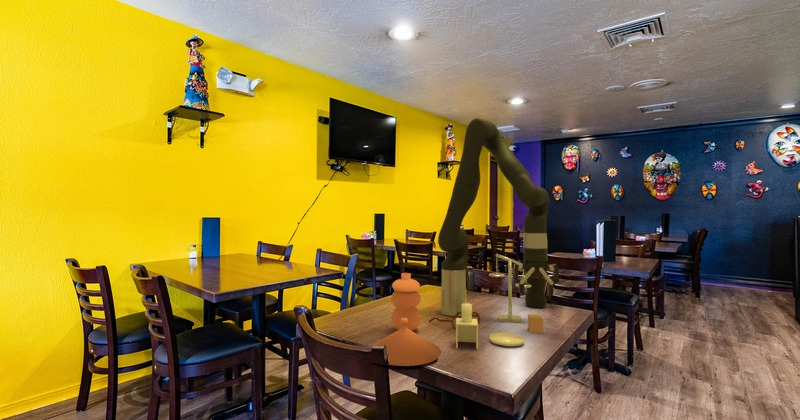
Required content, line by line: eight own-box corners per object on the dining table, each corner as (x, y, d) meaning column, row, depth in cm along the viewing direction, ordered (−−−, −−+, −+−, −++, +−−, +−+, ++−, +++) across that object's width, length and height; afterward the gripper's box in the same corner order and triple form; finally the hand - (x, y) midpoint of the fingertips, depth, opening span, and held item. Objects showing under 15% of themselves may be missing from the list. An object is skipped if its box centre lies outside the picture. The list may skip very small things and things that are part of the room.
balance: (489, 321, 137) (489, 254, 137) (488, 317, 142) (488, 252, 143) (532, 323, 135) (532, 255, 135) (529, 319, 140) (529, 253, 141)
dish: (491, 347, 110) (491, 342, 110) (488, 336, 120) (488, 331, 120) (526, 349, 109) (526, 343, 109) (520, 337, 119) (520, 333, 119)
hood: (456, 348, 110) (456, 306, 110) (456, 340, 116) (456, 301, 116) (477, 349, 109) (478, 307, 109) (476, 342, 115) (476, 302, 115)
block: (530, 332, 124) (530, 317, 124) (528, 329, 128) (528, 314, 128) (543, 333, 124) (543, 318, 124) (540, 329, 128) (540, 314, 128)
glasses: (453, 332, 126) (453, 317, 126) (428, 322, 136) (428, 308, 136) (480, 325, 133) (480, 311, 133) (455, 317, 144) (455, 304, 144)
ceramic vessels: (444, 366, 96) (444, 292, 97) (362, 364, 97) (362, 291, 98) (436, 326, 131) (436, 271, 132) (376, 325, 132) (376, 271, 132)
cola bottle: (543, 305, 162) (543, 235, 163) (549, 310, 154) (549, 236, 154) (522, 304, 163) (523, 234, 163) (527, 309, 155) (527, 235, 155)
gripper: (515, 247, 123) (515, 297, 123) (560, 247, 121) (561, 298, 121) (511, 245, 131) (512, 292, 131) (554, 245, 129) (555, 293, 129)
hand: (535, 295), depth 126 cm, fingers open, 8 cm apart
